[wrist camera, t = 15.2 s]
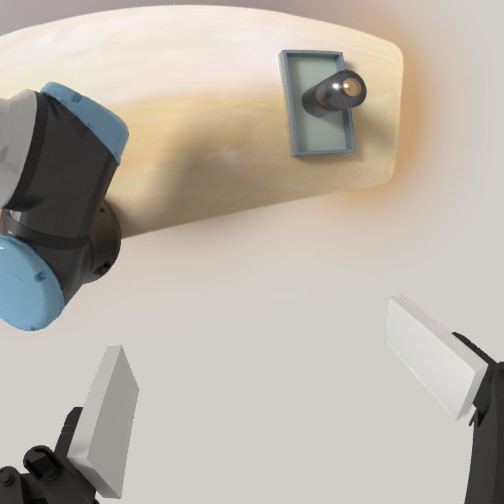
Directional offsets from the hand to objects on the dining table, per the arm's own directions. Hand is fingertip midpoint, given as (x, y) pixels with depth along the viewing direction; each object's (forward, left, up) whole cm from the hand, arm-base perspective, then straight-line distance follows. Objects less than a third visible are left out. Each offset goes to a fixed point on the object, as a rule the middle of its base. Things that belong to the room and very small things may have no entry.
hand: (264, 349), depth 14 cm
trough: (+17, +16, -37) cm, 43 cm away
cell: (+17, +16, -36) cm, 43 cm away
